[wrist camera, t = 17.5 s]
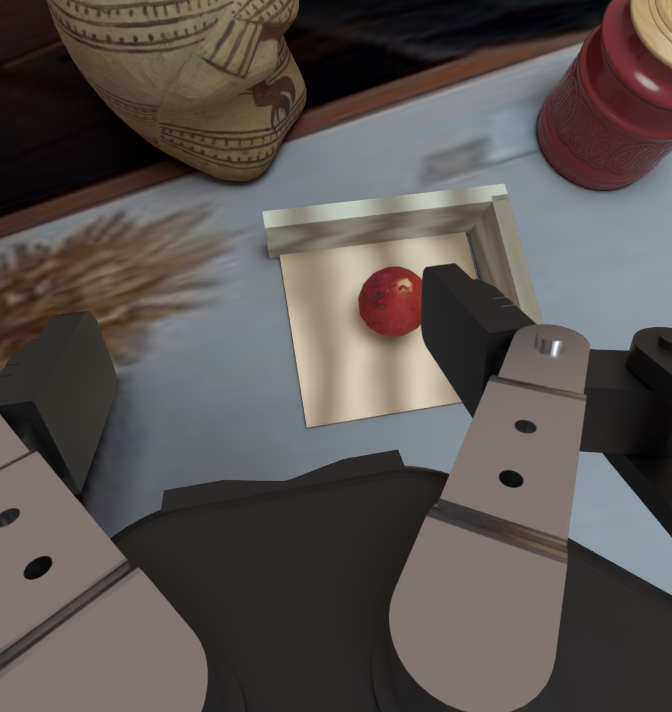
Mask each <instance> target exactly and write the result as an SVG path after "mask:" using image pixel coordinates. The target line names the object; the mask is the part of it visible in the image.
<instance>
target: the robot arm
mask: <svg viewBox="0 0 672 712" xmlns="http://www.w3.org/2000/svg"><path fill="white" fill-rule="evenodd" d="M421 332H422V337H423V341H424V344H425V346H426V348H427V349H428V351H429V352H430V354H431V355H432V357H433V358H434V360H435V361H436V363H437V364H438V366H439V367H440V369H441V370H442V372H443V374H444V375H445V377H446V378H447V380H448V381H449V383H450V384H451V386H452V387H453V389H454V390H455V392H456V393H457V395H458V396H459V398H460V400H461V401H462V403H463V404H464V406H465V407H466V409H467V410H468V412H469V413H470V415H471V416H472V418H473V420H472V422H471V424H470V427H469V429H468V432H467V434H466V436H465V439H464V441H463V444H462V446H461V448H460V451H459V453H458V456H457V458H456V461H455V463H454V465H453V468H452V470H451V473H450V474H448V473H445V472H441V471H438V470H433V469H429V468H423V467H414V466H404V463H403V461H402V458H401V456H400V453H399V451H398V450H393V451H387V452H381V453H376V454H370V455H364V456H359V457H353V458H347V459H342V460H340V461H337V462H334V463H332V464H329V465H327V466H324V467H321V468H319V469H316V470H314V471H311V472H309V473H306V474H303V475H301V476H298V477H296V478H293V479H290V480H286V481H243V480H222V481H216V482H210V483H205V484H199V485H193V486H188V487H182V488H176V489H171V490H165V491H164V494H163V500H162V507H161V510H159V511H157V512H154V513H152V514H150V515H148V516H146V517H144V518H142V519H140V520H138V521H136V522H135V523H133V524H131V525H129V526H128V527H126V528H125V529H123V530H122V531H120V532H119V533H117V534H116V535H115V536H113V537H112V538H111V539H109V537H108V536H107V535H106V534H105V533H104V531H103V530H102V529H101V528H100V526H99V525H98V524H97V523H96V522H95V520H94V519H93V518H92V517H91V516H90V514H89V513H88V512H87V511H86V510H85V508H84V507H83V506H82V505H81V504H80V502H79V501H78V500H77V499H76V497H75V496H74V495H73V494H79V493H81V490H82V488H83V485H84V482H85V479H86V476H87V473H88V470H89V468H90V465H91V462H92V459H93V456H94V453H95V451H96V448H97V445H98V442H99V439H100V436H101V434H102V431H103V428H104V425H105V422H106V419H107V416H108V414H109V411H110V408H111V405H112V402H113V399H114V397H115V394H116V389H117V379H116V373H115V369H114V366H113V363H112V360H111V358H110V355H109V352H108V350H107V347H106V344H105V342H104V339H103V336H102V334H101V331H100V328H99V326H98V323H97V321H96V319H95V317H94V315H93V314H92V313H91V312H90V311H83V312H76V313H68V314H61V315H54V316H53V317H52V318H51V320H50V321H49V322H48V324H47V325H46V327H45V328H44V330H43V331H42V332H41V334H40V335H39V337H38V338H37V339H33V340H31V341H30V342H28V343H27V344H26V345H24V346H23V347H21V348H20V349H19V350H17V351H16V352H15V353H14V354H13V356H12V357H11V358H10V360H9V361H8V362H7V364H6V365H5V368H3V369H2V370H1V372H0V712H672V595H670V594H668V593H667V592H665V591H663V590H661V589H659V588H658V587H656V586H654V585H652V584H650V583H649V582H647V581H645V580H643V579H642V578H640V577H638V576H636V575H634V574H633V573H631V572H629V571H627V570H625V569H624V568H622V567H620V566H618V565H616V564H615V563H613V562H611V561H609V560H607V559H606V558H604V557H602V556H600V555H598V554H597V553H595V552H593V551H591V550H589V549H588V548H586V547H584V546H582V545H580V544H579V543H577V542H575V541H573V540H571V539H570V538H568V532H569V525H570V517H571V510H572V502H573V495H574V488H575V480H576V473H577V465H578V458H579V451H583V452H598V453H603V454H604V456H605V457H606V458H607V460H608V461H609V462H610V463H611V464H612V466H613V467H614V468H615V469H616V470H617V472H618V473H619V474H620V475H621V477H622V478H623V479H624V480H625V481H626V483H627V484H628V485H629V486H630V487H631V489H632V490H633V491H634V492H635V493H636V495H637V496H638V497H639V498H640V499H641V501H642V502H643V503H644V504H645V506H646V507H647V508H648V509H649V510H650V512H651V513H652V514H653V515H654V516H655V518H656V519H657V520H658V521H659V522H660V524H661V525H662V526H663V527H664V528H665V530H666V531H667V532H668V533H669V535H670V536H671V537H672V328H667V327H652V328H645V329H642V330H640V331H638V332H637V333H635V335H634V337H633V340H632V343H631V346H630V350H629V351H621V350H595V349H590V344H589V342H588V340H587V339H586V338H585V337H584V336H583V335H581V334H580V333H578V332H576V331H574V330H571V329H569V328H566V327H562V326H557V325H550V324H536V323H535V322H534V321H533V320H532V319H531V318H529V317H528V316H527V315H526V314H525V313H524V312H523V311H522V310H520V309H519V308H518V307H517V306H516V305H514V303H513V302H512V301H510V300H509V299H508V298H507V297H506V298H505V295H504V294H503V293H501V292H500V291H499V290H498V289H497V288H496V287H495V286H493V285H490V284H488V283H486V282H483V281H481V280H479V279H472V278H471V277H470V276H469V275H468V274H467V273H466V272H464V271H463V270H462V269H461V268H460V267H459V266H458V265H457V264H456V263H451V264H443V265H436V266H428V267H425V268H424V271H423V275H422V298H421Z"/></svg>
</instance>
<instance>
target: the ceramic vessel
mask: <svg viewBox="0 0 672 712" xmlns="http://www.w3.org/2000/svg"><path fill="white" fill-rule="evenodd" d="M47 3H48V6H49V9H50V12H51V14H52V17H53V20H54V23H55V26H56V28H57V30H58V32H59V34H60V37H61V39H62V41H63V43H64V44H65V46H66V48H67V50H68V52H69V54H70V56H71V57H72V59H73V61H74V62H75V64H76V65H77V67H78V68H79V70H80V71H81V73H82V74H83V75H84V77H85V78H86V80H87V81H88V82H89V83H90V85H91V86H92V87H93V89H94V90H95V91H96V92H97V94H98V95H99V96H100V97H101V98H102V99H103V101H104V102H105V103H106V104H107V105H108V106H109V107H110V108H111V109H112V110H113V111H114V112H115V113H116V114H117V115H118V116H119V117H120V118H121V119H122V120H123V121H124V122H125V123H126V124H127V125H129V126H130V127H131V128H132V129H133V130H134V131H136V132H137V133H138V134H139V135H141V136H142V137H143V138H144V139H145V140H147V141H148V142H149V143H151V144H152V145H153V146H155V147H156V148H158V149H159V150H161V151H163V152H165V153H166V154H168V155H170V156H172V157H174V158H176V159H178V160H180V161H182V162H184V163H186V164H187V165H189V166H192V167H194V168H196V169H198V170H200V171H202V172H204V173H206V174H209V175H211V176H213V177H216V178H219V179H222V180H231V181H248V180H252V179H254V178H256V177H258V176H260V175H261V174H262V173H263V172H265V171H266V169H267V168H268V167H269V165H270V164H271V162H272V161H273V159H274V157H275V155H276V153H277V151H278V149H279V147H280V145H281V143H282V141H283V139H284V137H285V136H286V134H287V132H288V131H289V129H290V128H291V126H292V125H293V124H294V122H295V121H296V120H297V118H298V117H299V116H300V114H301V112H302V110H303V108H304V105H305V102H306V87H305V83H304V80H303V78H302V75H301V73H300V71H299V69H298V67H297V65H296V63H295V61H294V59H293V57H292V55H291V53H290V51H289V49H288V46H287V44H286V42H285V39H284V36H283V34H284V33H285V32H286V31H287V30H288V29H289V27H290V26H291V24H292V23H293V21H294V20H295V18H296V15H297V12H298V8H299V0H47Z"/></svg>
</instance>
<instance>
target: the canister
mask: <svg viewBox="0 0 672 712" xmlns="http://www.w3.org/2000/svg"><path fill="white" fill-rule="evenodd" d="M537 133H538V139H539V143H540V146H541V149H542V151H543V153H544V155H545V156H546V158H547V159H548V161H549V162H550V163H551V165H552V166H553V167H554V168H555V169H556V170H557V171H558V172H559V173H560V174H562V175H563V176H564V177H566V178H567V179H569V180H571V181H572V182H574V183H576V184H579V185H581V186H584V187H587V188H591V189H597V190H612V189H618V188H621V187H624V186H627V185H629V184H631V183H632V182H634V181H637V180H639V179H640V178H642V177H644V176H645V175H646V174H648V173H649V172H650V171H651V170H653V169H654V168H655V167H656V166H657V165H658V164H659V163H660V161H661V160H662V159H663V158H664V157H665V156H666V155H667V154H669V153H670V152H671V151H672V0H612V1H611V2H610V4H609V5H608V7H607V9H606V11H605V13H604V16H603V19H602V24H601V25H599V26H598V27H597V28H595V29H594V30H593V31H592V32H591V33H590V35H589V36H588V37H587V39H586V40H585V42H584V44H583V46H582V48H581V51H580V52H579V54H578V55H577V57H576V58H575V59H574V61H573V62H572V64H571V65H570V67H569V68H568V70H567V71H566V73H565V74H564V76H563V77H562V79H561V80H560V81H559V82H558V83H557V84H556V85H555V86H554V87H553V89H552V90H551V92H550V93H549V95H548V96H547V98H546V100H545V102H544V104H543V107H542V110H541V113H540V115H539V119H538V125H537Z"/></svg>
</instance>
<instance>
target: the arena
mask: <svg viewBox="0 0 672 712" xmlns="http://www.w3.org/2000/svg"><path fill="white" fill-rule="evenodd" d="M263 219H264V226H265V234H266V241H267V248H268V254H269V259H275V258H280V262H281V268H282V274H283V281H284V287H285V293H286V300H287V306H288V312H289V319H290V325H291V331H292V338H293V344H294V350H295V357H296V363H297V369H298V376H299V382H300V389H301V395H302V401H303V408H304V414H305V420H306V427H307V428H310V427H316V426H322V425H328V424H334V423H340V422H346V421H352V420H358V419H364V418H370V417H376V416H382V415H388V414H394V413H400V412H406V411H412V410H418V409H424V408H430V407H436V406H442V405H448V404H454V403H460V402H462V401H461V400H460V398H459V396H458V395H457V393H456V392H455V390H454V389H453V387H452V386H451V384H450V383H449V381H448V380H447V378H446V377H445V375H444V374H443V372H442V370H441V369H440V367H439V366H438V364H437V363H436V361H435V360H434V358H433V357H432V355H431V354H430V352H429V351H428V349H427V348H426V346H425V344H424V341H423V337H422V332H421V325H420V326H419V327H418V328H417V329H415V330H413V331H411V332H410V333H408V334H406V335H404V336H396V337H389V336H385V335H381V334H378V333H377V332H375V331H374V330H372V329H370V328H369V327H367V325H366V323H365V322H364V320H363V319H362V317H361V316H360V311H359V302H358V297H359V295H360V292H361V289H362V286H363V284H364V283H365V282H366V280H367V279H368V278H369V277H370V276H371V275H372V274H373V273H374V272H377V271H379V270H381V269H384V268H386V267H394V266H399V267H403V268H406V269H409V270H411V271H413V272H414V273H415V274H416V275H418V276H419V277H420V278H421V279H422V275H423V271H424V268H425V267H428V266H436V265H443V264H451V263H456V264H457V265H458V266H459V267H460V268H461V269H462V270H463V271H464V272H466V273H467V274H468V275H469V276H470V277H471V278H472V279H477V276H476V272H475V268H474V264H473V260H472V256H471V252H470V248H469V244H468V240H467V236H466V234H468V235H469V239H470V243H471V247H472V251H473V255H474V259H475V263H476V267H477V271H478V275H479V279H480V280H481V281H483V282H486V283H488V284H490V285H493V286H495V287H496V288H497V289H498V290H499V291H500V292H501V293H503V294H504V295H505V298H506V297H507V298H508V299H509V300H510V301H512V302H513V303H514V305H516V306H517V307H518V308H519V309H520V310H522V311H523V312H524V313H525V314H526V315H527V316H528V317H529V318H531V319H532V320H533V321H534V322H535V323H536V324H543V322H542V318H541V315H540V311H539V308H538V304H537V300H536V297H535V293H534V289H533V286H532V282H531V278H530V275H529V271H528V267H527V264H526V260H525V256H524V253H523V249H522V245H521V242H520V238H519V235H518V231H517V227H516V224H515V220H514V216H513V213H512V209H511V205H510V202H509V198H508V194H507V191H506V187H505V184H498V185H489V186H481V187H472V188H463V189H454V190H446V191H437V192H428V193H419V194H411V195H402V196H393V197H384V198H376V199H367V200H358V201H349V202H341V203H332V204H323V205H314V206H306V207H297V208H288V209H280V210H271V211H263Z"/></svg>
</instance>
